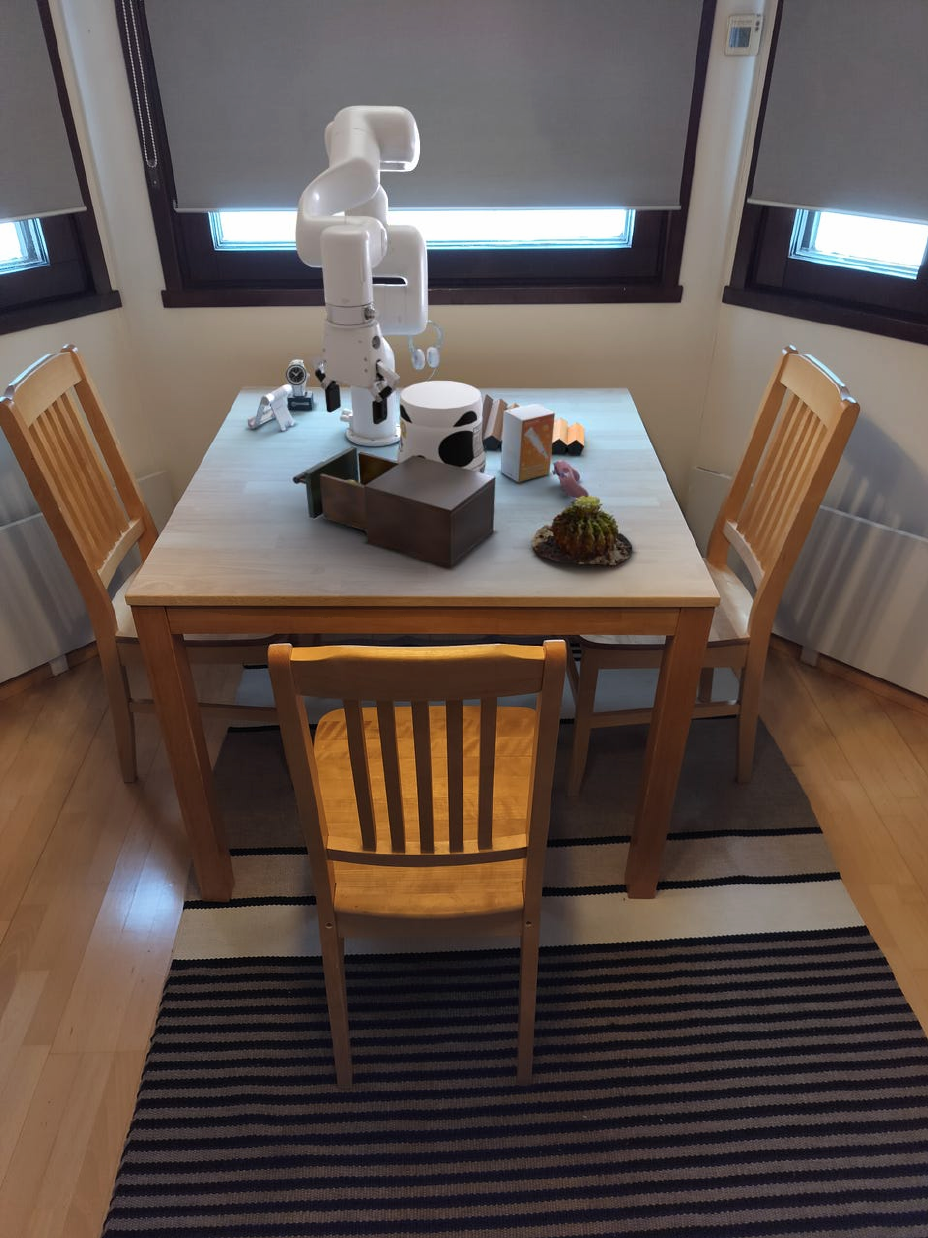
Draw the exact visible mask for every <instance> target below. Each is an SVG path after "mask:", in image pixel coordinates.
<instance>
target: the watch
mask: <svg viewBox="0 0 928 1238" xmlns="http://www.w3.org/2000/svg"><path fill="white" fill-rule="evenodd" d="M308 378H310V373H308V372H307V370H306V367H305V365H304V361H303V359H292V360H291V361H290V362H289V363H288V367H287V368H286V370H285V379H286V381H287V384H289V385H290V386H291V387H292V392H291V393H290V394H288V395H287V396H286V400H287V408H288V410H289V412H291V411H295V412H296V411H303V412H304V411H313V410H314V406H315V401H314V391H312V390H307V391H306V387H307V386H306V385H307V380H308Z"/></svg>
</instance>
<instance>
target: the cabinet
mask: <svg viewBox="0 0 928 1238" xmlns="http://www.w3.org/2000/svg"><path fill="white" fill-rule="evenodd" d="M364 490H365V508H366V524H367V531H366V538H367V544H371V545H374V546H377V547H380V548H383V549H387V550H389V551H393V552H396V553H398V554H403V555H405V556H409V557H411V558H415V559H417V560H421V561H425V562H426V563H427V562H428V563H431V564H434V565H437V566H440V567H444V568H447V569H450V570H451V569H452V568H453V567H455V566H456V565H457V564H458V563H459V562H461V561H462V560H463V559H464V558H465V557H466V556H467V555H469V554H470V553H471V552H472V551H474V550H475V549H476V548H477V547H478V546H479V545H481V544H482V543H483V542H484V541H485V540H486V539H487V538H489V536H491V535H492V534H493V533H494V527H495V501H496V500H495V499H496V497H495V496H496V476H495V475H491V474H488V473H485V472H484V473H480V472H476V471H472V470H468V469H464V468H461V467H457V466H453V465H449V464H445V463H441V462H437V461H433V460H429V459H425V458H422V457H418V456H414V455H413V456H411V457H410V458H408V459H406V460H405V461H403V462H402V463H400V464H398V465H397V466H395V467H394V468H392V469H390V470H389V471H387V472H386V473H384V474H382V475H381V476H379V477H378V478H376V479H374V480H373V481H371V482H370V483H368V484H367V485H365V486H364Z"/></svg>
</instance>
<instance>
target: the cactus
mask: <svg viewBox="0 0 928 1238" xmlns="http://www.w3.org/2000/svg"><path fill="white" fill-rule="evenodd" d="M579 498H580V499H577V498H574V499H575V501H574V500H571V501H570V503H571V504H572V505H571V506H569V507H565V509H563V510H561V511H560V513H558V514H556V516H554V518H552V522H551V525H548V524H545V525H543V526H542V527H541V528H539V529H538V530H537V531H536V533H535V534H534V536H532V539H531V545H532V547H533V549H534V550H535V551H536V552H535V553H536V555H539V557H540V558H546V559H550V560H552V561H556V562H560V563H568V564H569V563H571V564H572V563H576V564H578V565H584V564H591V565H593V564H594V565H597V564H598V565H602V564H603V565H605V566H606V565H607V564H608V565H612V566H614V565H615V566H617V565H618V564H619V563H621V562H624V561H626V560H627V559H628V558H630V557H631V555H632V554H633V545H632V543H631V542H630V541H629V539H628V537H626V536H625V535H624V534H622V533H621V532H619V526H618V525H617V524H618V523H617V522H618V521H616V518H615V517H614V516H615V515H614V514H613V515H610V514H609V513H606V512H605V510H604V511H603V508H602V507H601V506H602V505H604V503H603V502H601V499H600V498H599V497H597V496H593V495H588V498H587V497H585V496H581V497H579ZM612 512H613V510H611V511H610V513H612Z"/></svg>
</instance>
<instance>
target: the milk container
mask: <svg viewBox="0 0 928 1238" xmlns="http://www.w3.org/2000/svg"><path fill="white" fill-rule="evenodd" d="M398 405H399V406H398V409H399V425H400V440H399V443H398V447H397V451H396V458H395V461H398V462H403V461H405V460H406V459H408V458H410V457H411V456H413V455H414V456H418V457H422V458H425V459H429V460H433V461H437V462H441V463H445V464H449V465H453V466H457V467H461V468H464V469H468V470H472V471H476V472H480V473H484V474H485V471H486V463H487V459H486V451H485V446H484V442H482V410H483V406H482V394H481V391H480V390H479V389H478V388H476V387H475V386H474V385H470V384H467V383H464V382H458V381H451V380H431V381H427V382H426V381H422V382H418V383H413V384H411V385H408V386H406V387H405V388H404V389H402V391H401V392H400V394H399V404H398Z"/></svg>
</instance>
